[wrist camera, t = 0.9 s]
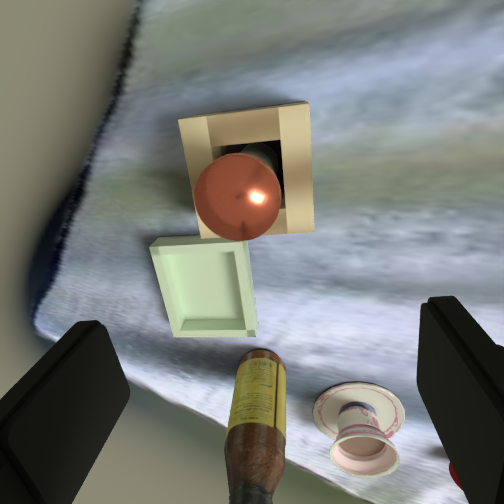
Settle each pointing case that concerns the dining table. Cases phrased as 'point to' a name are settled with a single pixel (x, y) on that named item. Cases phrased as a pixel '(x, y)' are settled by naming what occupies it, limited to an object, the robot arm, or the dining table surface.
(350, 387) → the teacup
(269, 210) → the pin
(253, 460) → the sauce bottle
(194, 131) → the socket block
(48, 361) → the robot arm
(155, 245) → the tray
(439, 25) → the dining table surface
